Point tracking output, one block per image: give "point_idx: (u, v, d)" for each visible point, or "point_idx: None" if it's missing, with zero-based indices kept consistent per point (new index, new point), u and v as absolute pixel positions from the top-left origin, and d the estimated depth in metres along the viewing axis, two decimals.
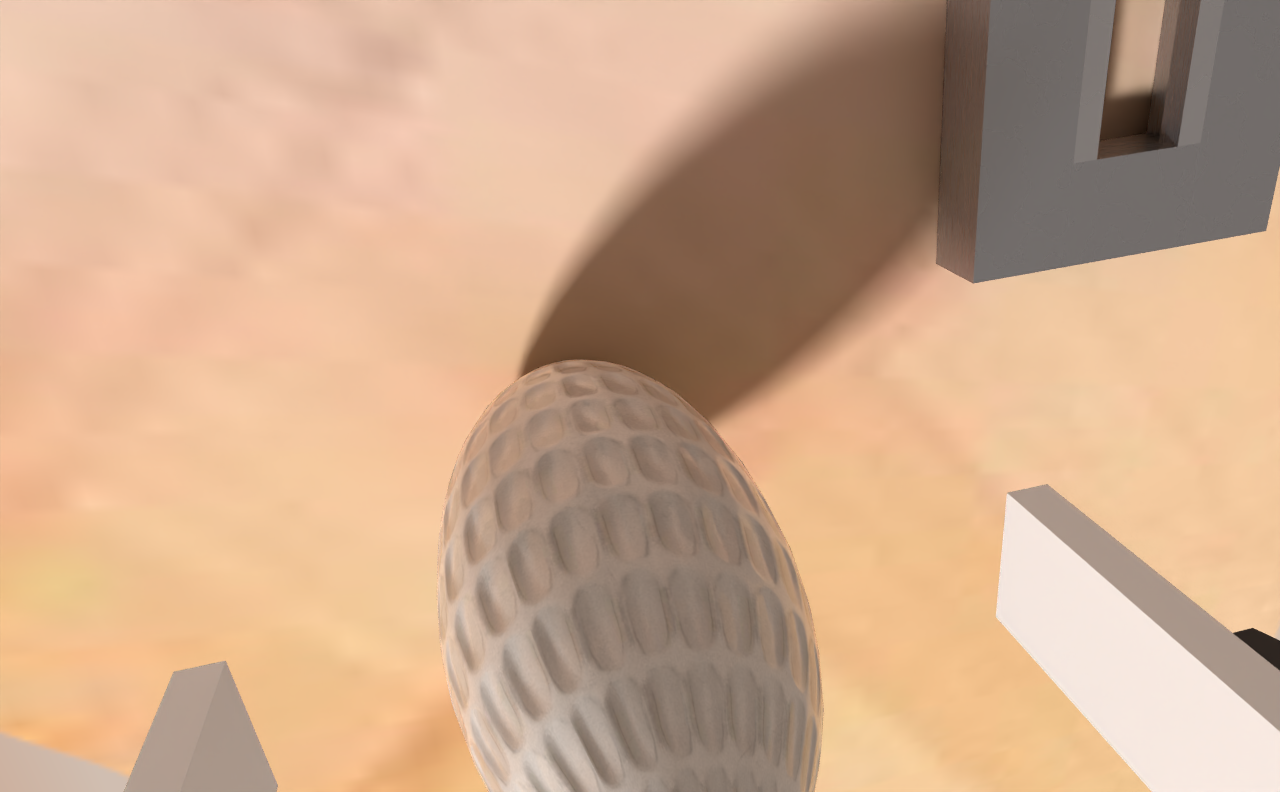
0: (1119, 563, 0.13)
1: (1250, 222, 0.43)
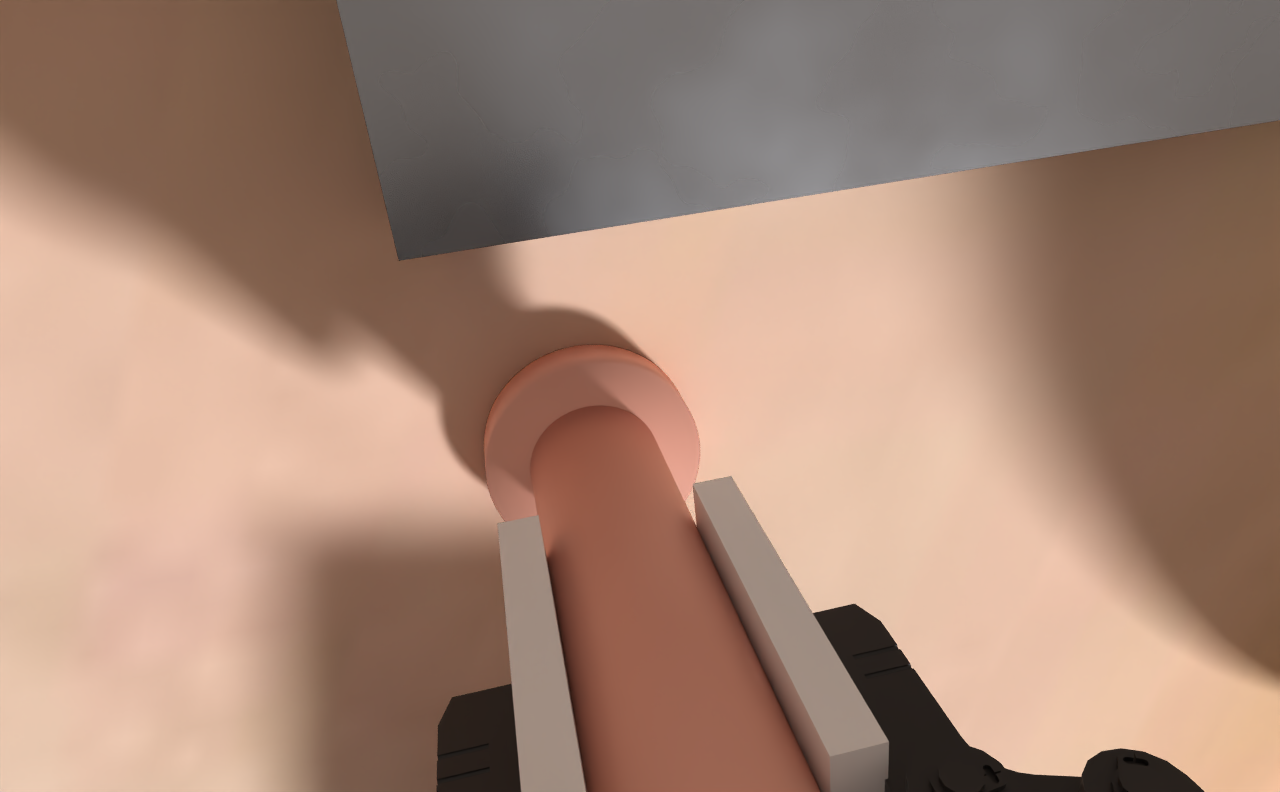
0: (750, 546, 0.14)
1: None
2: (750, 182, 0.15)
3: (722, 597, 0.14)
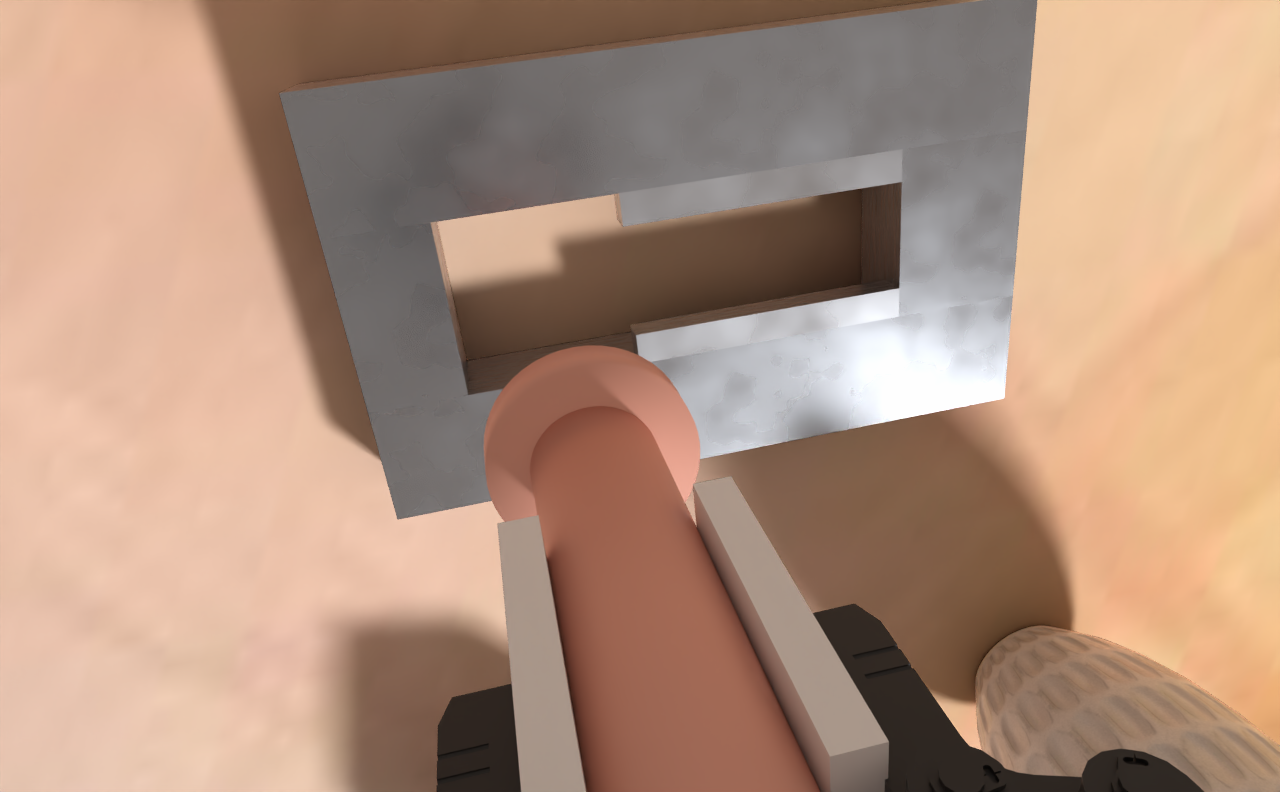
0: (750, 546, 0.14)
1: (1020, 26, 0.31)
2: None
3: (722, 598, 0.14)
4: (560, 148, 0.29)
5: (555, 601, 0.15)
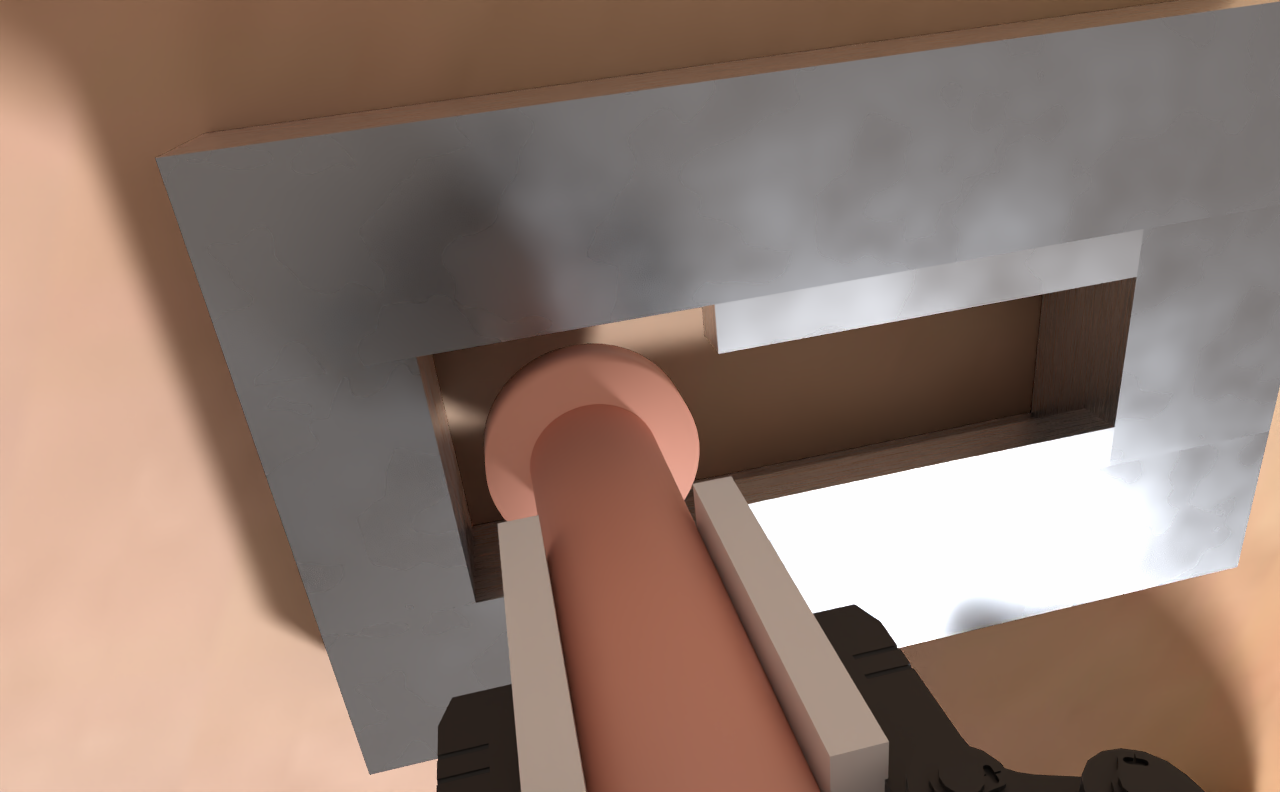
0: (750, 546, 0.14)
1: None
2: None
3: (721, 594, 0.14)
4: (626, 238, 0.18)
5: (554, 597, 0.15)
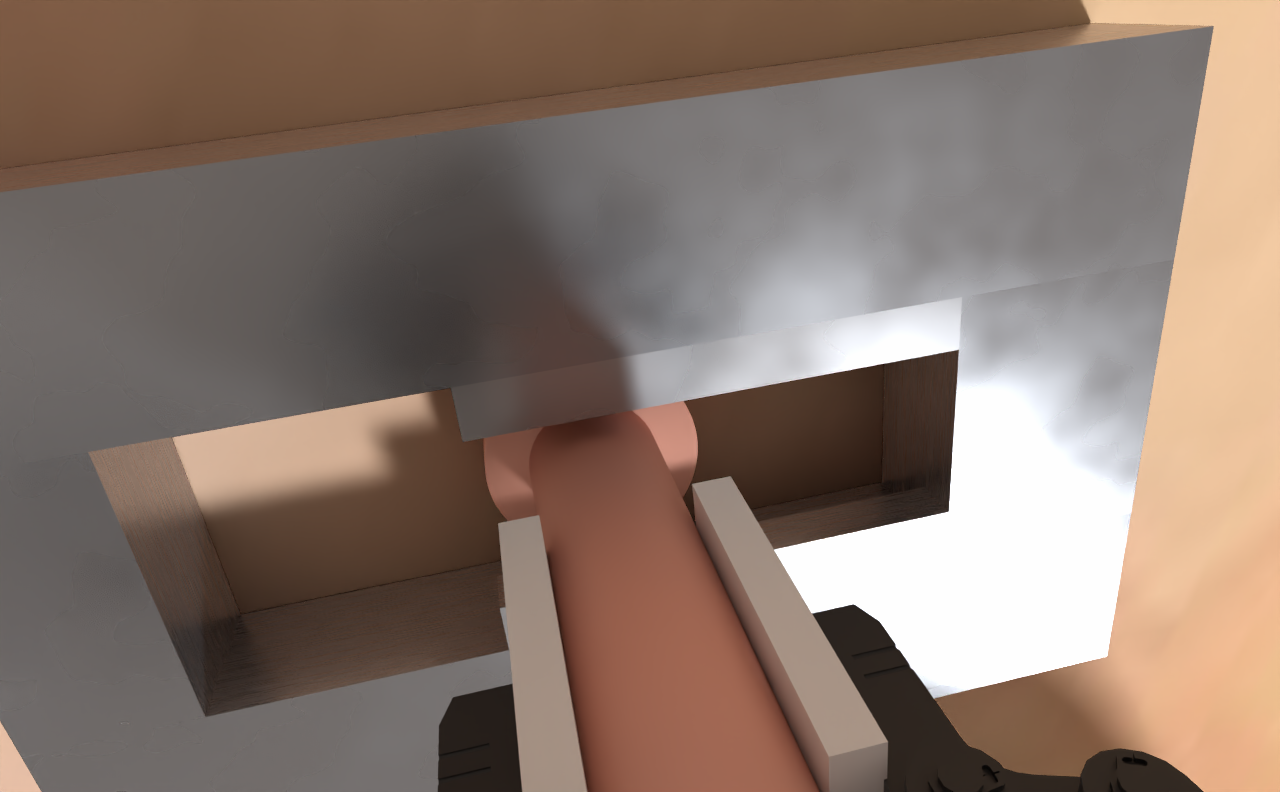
0: (749, 546, 0.14)
1: (1178, 85, 0.17)
2: None
3: (718, 590, 0.14)
4: (330, 315, 0.15)
5: None
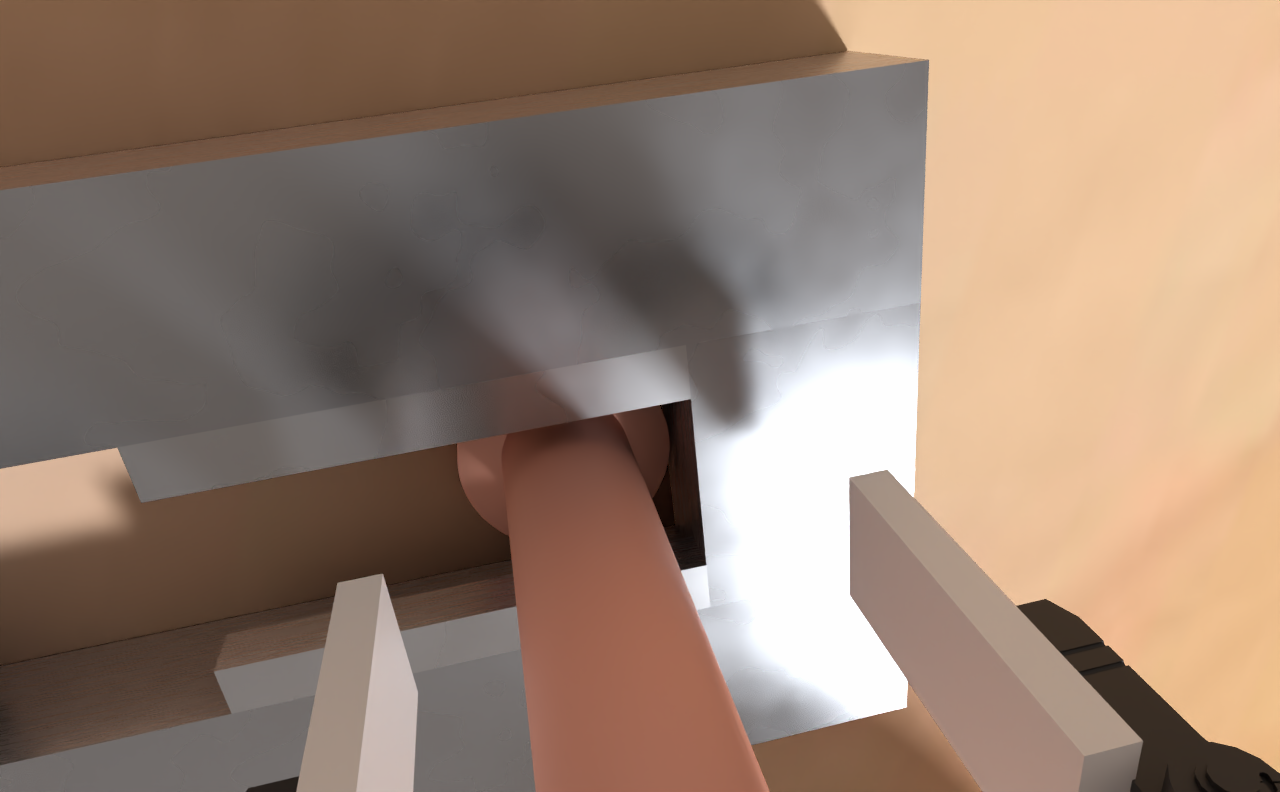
0: (930, 540, 0.14)
1: (897, 122, 0.16)
2: None
3: (676, 582, 0.14)
4: None
5: (516, 584, 0.15)
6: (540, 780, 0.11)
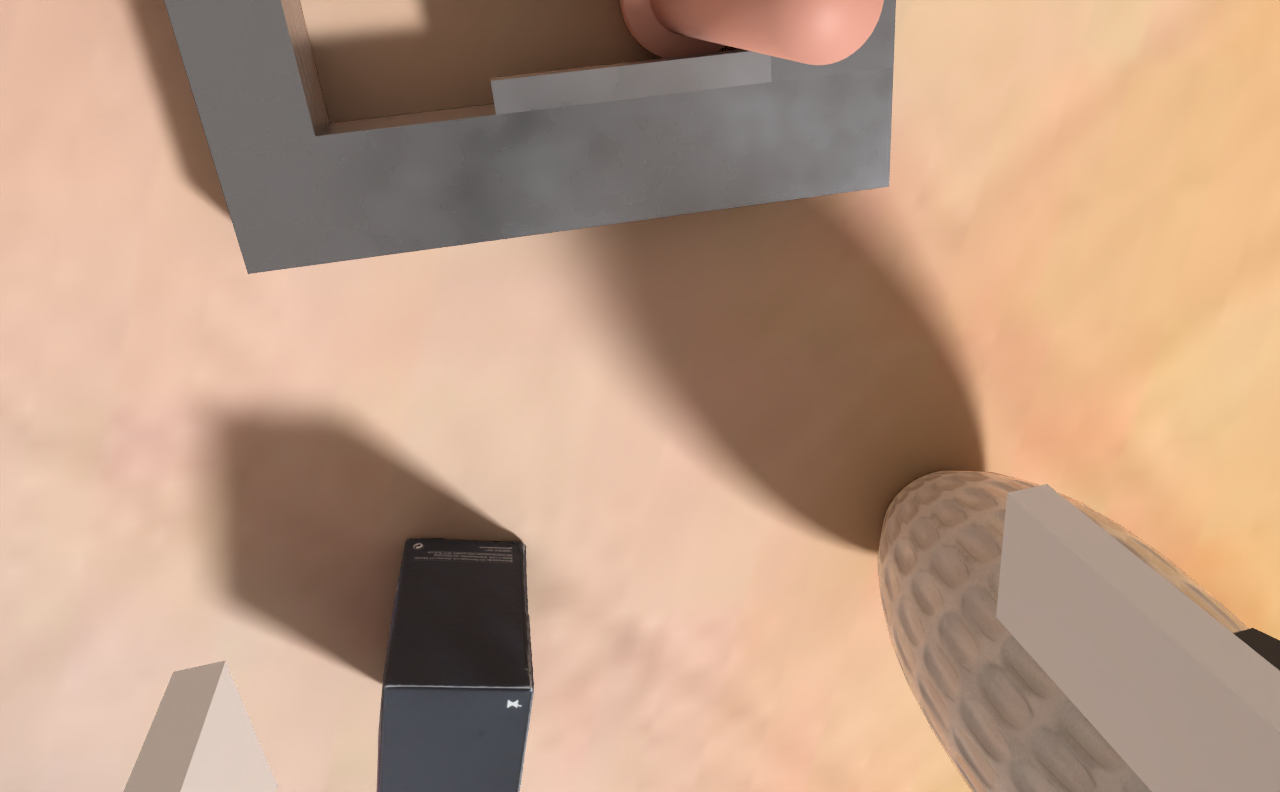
0: (1119, 563, 0.13)
1: None
2: (412, 241, 0.33)
3: None
4: None
5: None
6: None
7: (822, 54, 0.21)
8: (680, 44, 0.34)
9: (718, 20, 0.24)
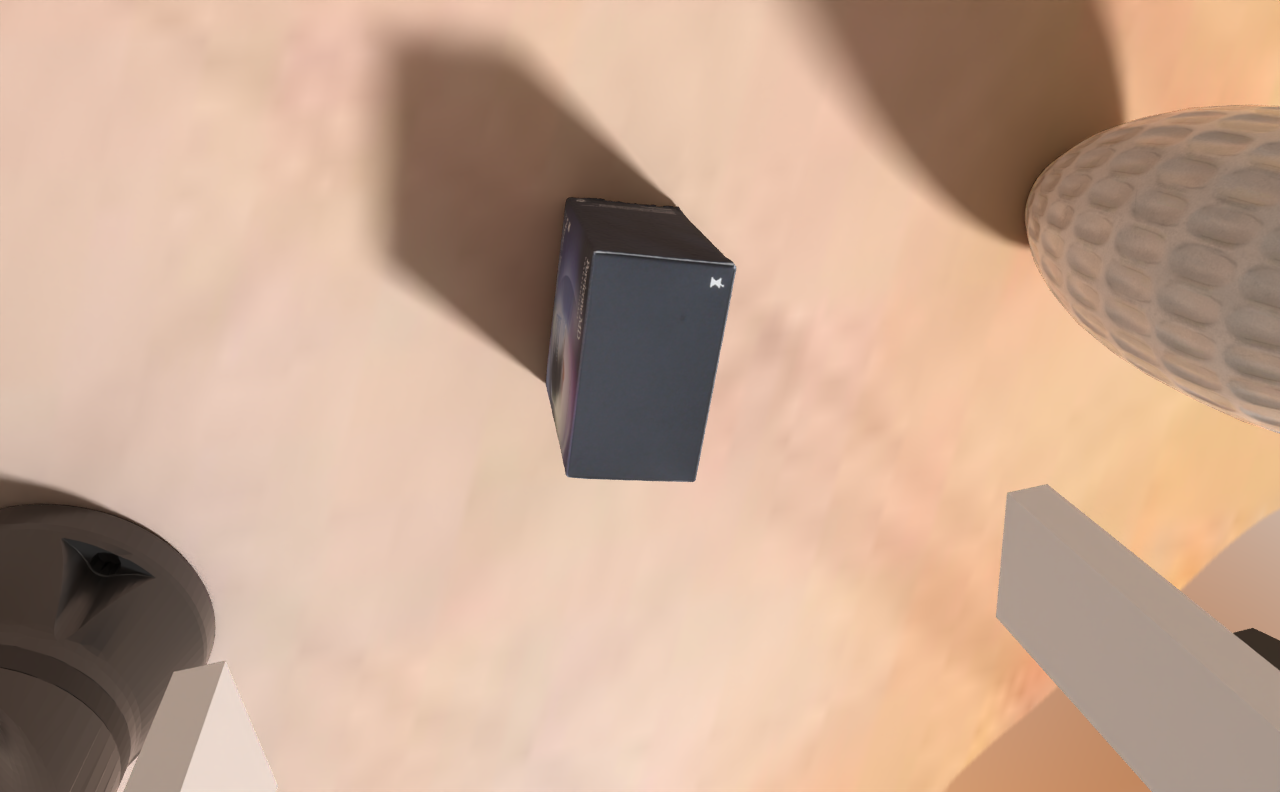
0: (1119, 563, 0.13)
1: None
2: None
3: None
4: None
5: None
6: None
7: None
8: None
9: None
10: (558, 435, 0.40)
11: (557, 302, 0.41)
